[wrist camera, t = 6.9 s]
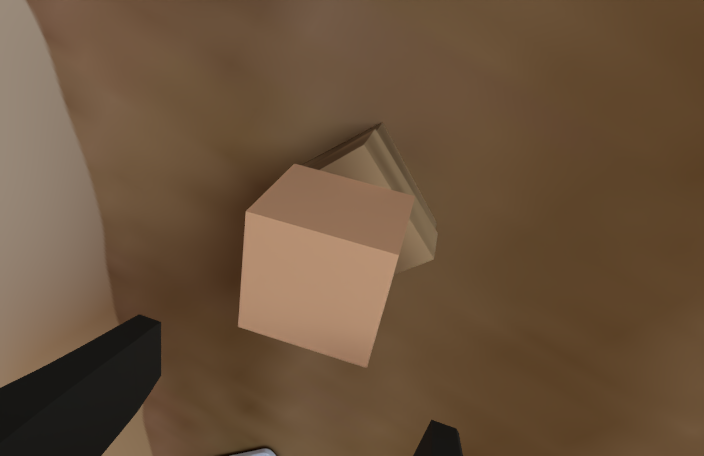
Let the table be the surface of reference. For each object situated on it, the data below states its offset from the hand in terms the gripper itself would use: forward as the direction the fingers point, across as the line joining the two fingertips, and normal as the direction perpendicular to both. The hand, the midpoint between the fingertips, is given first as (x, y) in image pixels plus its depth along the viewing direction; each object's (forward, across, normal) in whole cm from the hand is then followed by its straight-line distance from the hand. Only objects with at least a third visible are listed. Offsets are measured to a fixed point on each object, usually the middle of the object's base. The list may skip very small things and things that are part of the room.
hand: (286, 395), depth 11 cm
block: (+7, 0, -1) cm, 7 cm away
